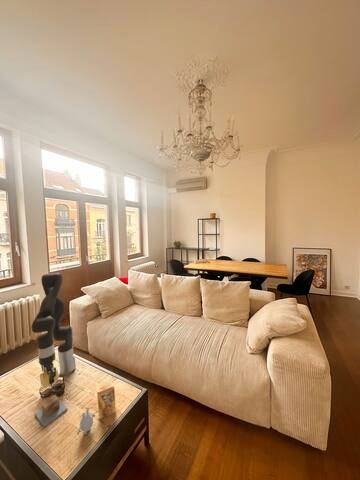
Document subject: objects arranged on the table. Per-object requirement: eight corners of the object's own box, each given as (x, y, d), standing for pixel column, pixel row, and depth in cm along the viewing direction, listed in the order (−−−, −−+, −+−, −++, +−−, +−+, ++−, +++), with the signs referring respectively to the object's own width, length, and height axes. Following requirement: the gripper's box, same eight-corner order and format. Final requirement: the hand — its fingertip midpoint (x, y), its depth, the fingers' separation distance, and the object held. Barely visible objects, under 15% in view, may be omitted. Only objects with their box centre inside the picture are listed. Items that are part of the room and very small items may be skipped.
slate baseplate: (57, 399, 123) (57, 397, 123) (67, 409, 116) (67, 408, 116) (35, 415, 114) (35, 413, 114) (44, 427, 107) (43, 425, 107)
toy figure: (91, 419, 110) (89, 399, 109) (99, 424, 108) (97, 404, 106) (73, 439, 101) (71, 417, 99) (82, 444, 98) (80, 422, 97)
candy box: (115, 406, 118) (113, 382, 116) (116, 412, 114) (114, 388, 112) (98, 413, 114) (96, 388, 112) (99, 420, 110) (97, 394, 108)
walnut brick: (55, 403, 119) (54, 394, 119) (59, 408, 116) (58, 398, 116) (42, 413, 114) (41, 403, 113) (46, 418, 111) (45, 408, 110)
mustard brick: (54, 376, 118) (53, 366, 117) (58, 380, 115) (57, 370, 114) (40, 384, 112) (39, 374, 111) (44, 388, 109) (43, 378, 108)
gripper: (60, 353, 110) (62, 382, 112) (48, 345, 119) (51, 371, 120) (44, 362, 104) (48, 392, 106) (33, 352, 112) (36, 380, 114)
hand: (49, 381), depth 113 cm, fingers closed on mustard brick, 5 cm apart
